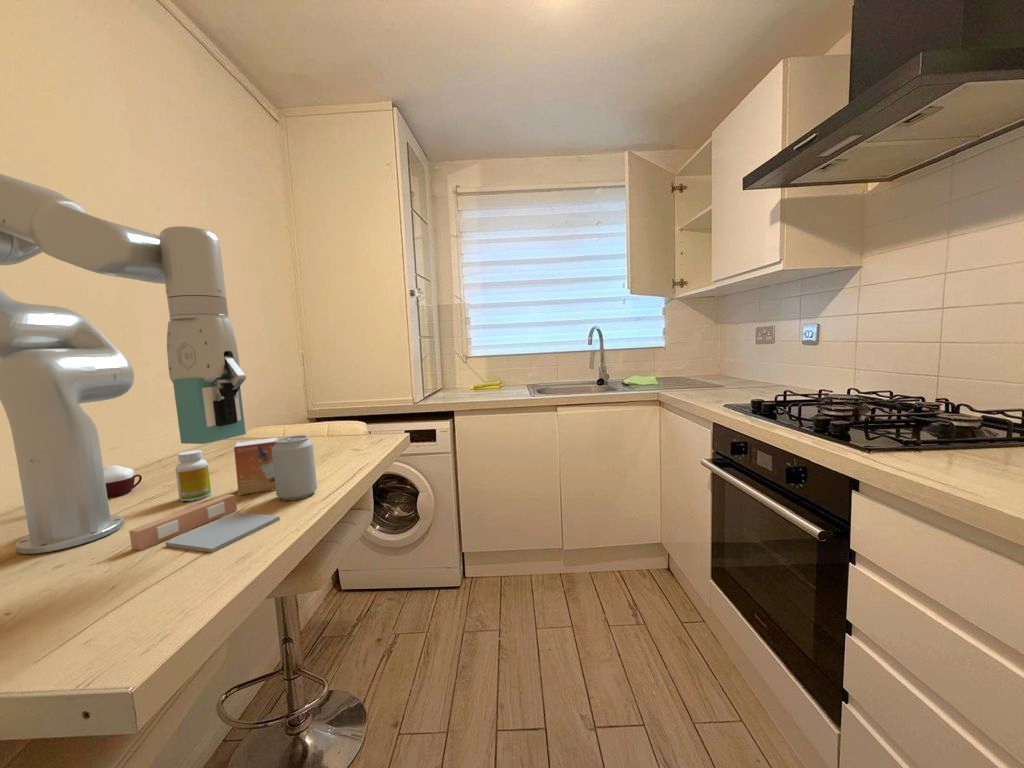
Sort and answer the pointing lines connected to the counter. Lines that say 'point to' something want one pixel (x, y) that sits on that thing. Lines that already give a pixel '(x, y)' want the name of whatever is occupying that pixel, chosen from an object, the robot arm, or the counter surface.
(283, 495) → the can
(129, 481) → the cocoa
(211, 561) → the counter surface
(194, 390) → the carton block
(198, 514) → the price rail
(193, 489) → the supplement bottle
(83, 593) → the counter surface
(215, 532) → the mat
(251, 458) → the small box
